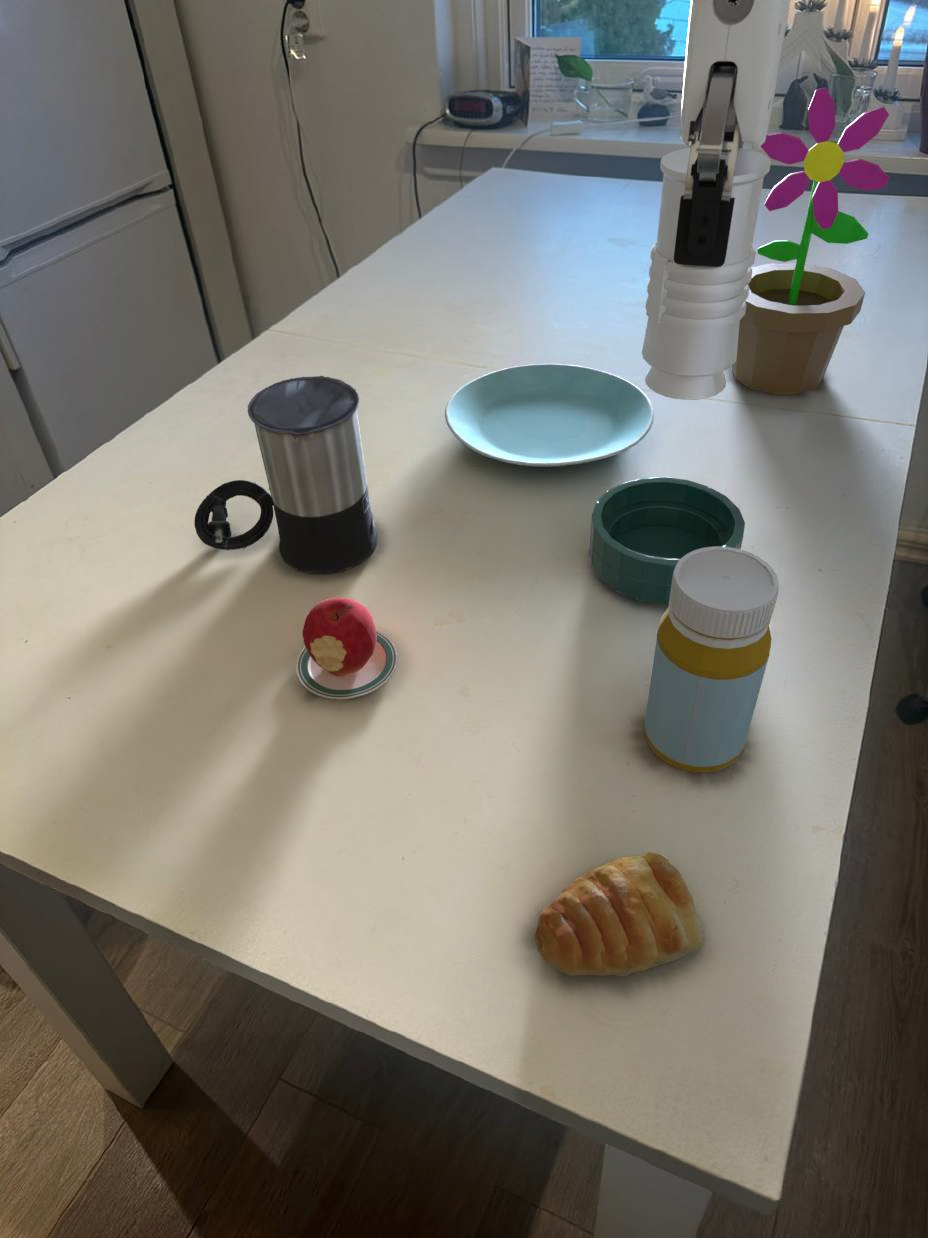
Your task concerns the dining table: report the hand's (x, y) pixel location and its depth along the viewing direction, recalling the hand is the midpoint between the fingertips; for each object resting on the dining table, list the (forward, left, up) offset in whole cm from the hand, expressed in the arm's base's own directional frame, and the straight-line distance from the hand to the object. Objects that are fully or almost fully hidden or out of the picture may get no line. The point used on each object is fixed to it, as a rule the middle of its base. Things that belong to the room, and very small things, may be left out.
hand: (704, 242), depth 58 cm
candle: (0, 0, -10) cm, 10 cm away
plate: (+15, -20, -28) cm, 38 cm away
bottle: (-5, +19, -28) cm, 34 cm away
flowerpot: (-8, -39, -28) cm, 49 cm away
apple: (+22, +19, -28) cm, 40 cm away
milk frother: (+34, +5, -28) cm, 44 cm away
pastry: (-3, +35, -28) cm, 45 cm away
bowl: (0, 0, -28) cm, 28 cm away
